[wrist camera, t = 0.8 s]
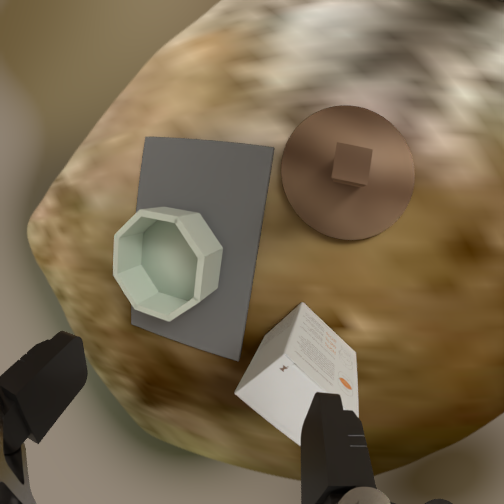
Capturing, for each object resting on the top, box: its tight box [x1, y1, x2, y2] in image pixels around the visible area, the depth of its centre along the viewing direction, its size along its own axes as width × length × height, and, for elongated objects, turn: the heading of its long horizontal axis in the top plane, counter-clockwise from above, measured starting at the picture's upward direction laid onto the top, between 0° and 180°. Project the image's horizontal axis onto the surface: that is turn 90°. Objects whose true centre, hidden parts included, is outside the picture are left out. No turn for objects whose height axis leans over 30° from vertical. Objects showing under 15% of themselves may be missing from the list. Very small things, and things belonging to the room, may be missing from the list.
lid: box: [281, 106, 415, 240], centre depth 22 cm, size 12×12×8 cm
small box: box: [234, 302, 359, 446], centre depth 25 cm, size 8×6×10 cm
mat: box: [131, 137, 274, 361], centre depth 31 cm, size 22×14×1 cm, turn 171°
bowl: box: [113, 207, 223, 322], centre depth 29 cm, size 10×10×5 cm
